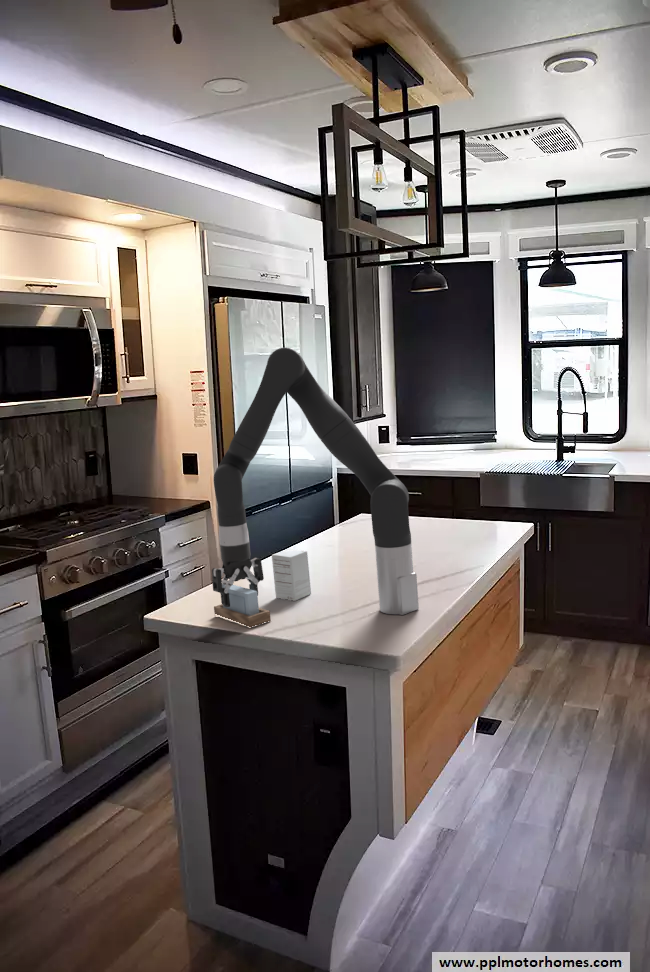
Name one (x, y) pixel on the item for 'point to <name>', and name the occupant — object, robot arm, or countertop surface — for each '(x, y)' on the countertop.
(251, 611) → the light blue rectangular block
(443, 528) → the countertop surface
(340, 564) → the countertop surface
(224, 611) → the wooden tray
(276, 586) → the supplement box
